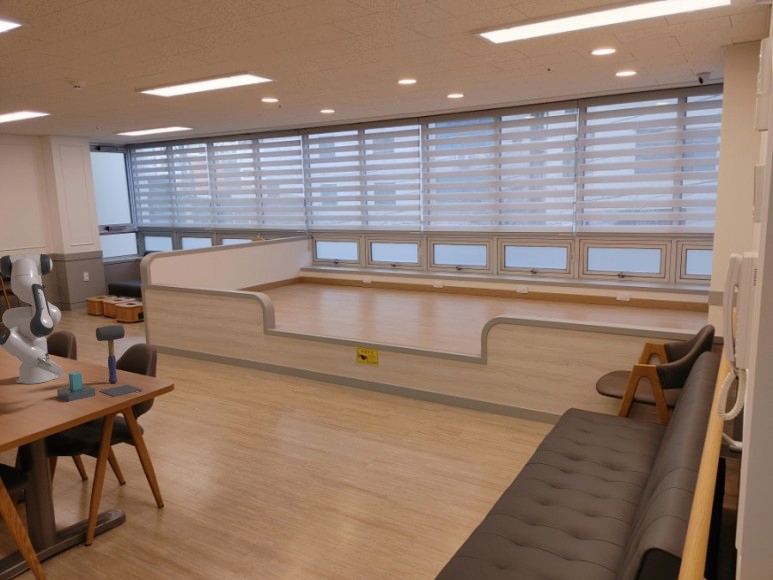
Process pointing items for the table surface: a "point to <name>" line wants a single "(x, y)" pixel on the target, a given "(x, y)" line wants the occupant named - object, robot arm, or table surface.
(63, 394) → the socket base
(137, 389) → the pad
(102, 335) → the rubber mallet
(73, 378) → the peg
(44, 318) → the robot arm
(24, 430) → the table surface
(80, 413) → the table surface
